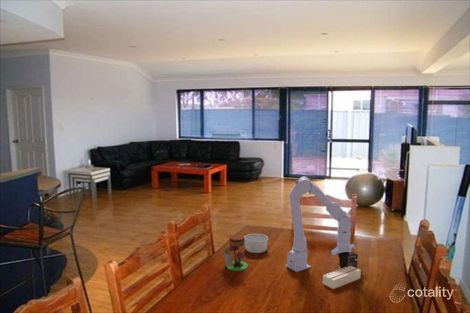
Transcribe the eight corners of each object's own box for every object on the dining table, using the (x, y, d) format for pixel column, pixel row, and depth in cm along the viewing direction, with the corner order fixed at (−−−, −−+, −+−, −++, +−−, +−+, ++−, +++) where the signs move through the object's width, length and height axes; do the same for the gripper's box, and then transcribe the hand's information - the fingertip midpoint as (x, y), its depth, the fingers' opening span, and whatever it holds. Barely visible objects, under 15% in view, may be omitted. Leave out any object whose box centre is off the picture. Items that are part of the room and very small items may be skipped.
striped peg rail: (333, 289, 163) (333, 279, 162) (322, 283, 168) (323, 274, 167) (360, 278, 173) (360, 269, 172) (349, 273, 178) (350, 265, 177)
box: (346, 270, 181) (347, 255, 180) (339, 265, 187) (340, 250, 186) (357, 269, 183) (358, 254, 182) (349, 264, 189) (350, 249, 188)
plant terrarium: (243, 259, 195) (243, 231, 193) (252, 269, 183) (252, 239, 181) (221, 263, 191) (220, 234, 189) (229, 273, 179) (229, 242, 177)
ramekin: (261, 256, 199) (261, 243, 198) (239, 251, 206) (239, 238, 205) (272, 248, 210) (272, 236, 210) (251, 243, 217) (251, 231, 216)
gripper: (339, 244, 173) (339, 273, 175) (360, 238, 181) (359, 265, 183) (328, 240, 179) (327, 267, 181) (348, 234, 187) (347, 260, 189)
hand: (342, 266), depth 182 cm, fingers closed, pressing on box
